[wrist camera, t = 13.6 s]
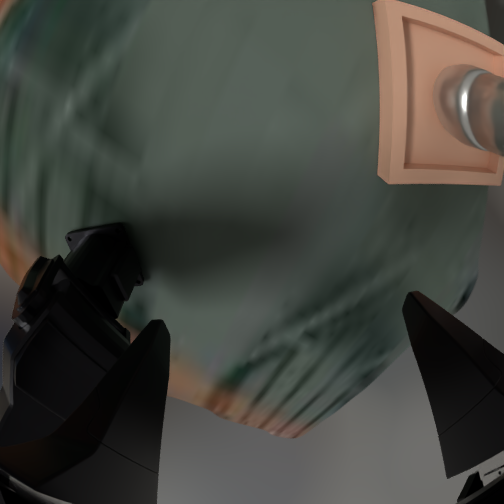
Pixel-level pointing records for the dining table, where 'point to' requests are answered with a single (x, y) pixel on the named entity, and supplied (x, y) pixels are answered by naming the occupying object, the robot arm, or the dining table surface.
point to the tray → (427, 96)
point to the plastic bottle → (471, 106)
